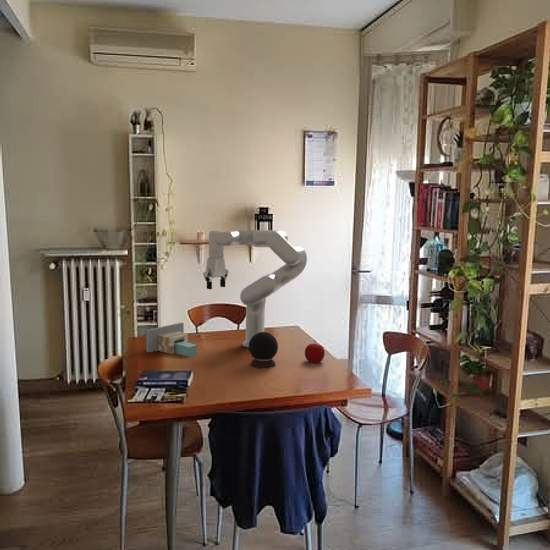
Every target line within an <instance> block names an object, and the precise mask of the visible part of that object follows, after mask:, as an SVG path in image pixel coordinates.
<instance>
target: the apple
mask: <svg viewBox="0 0 550 550" xmlns="http://www.w3.org/2000/svg"><path fill="white" fill-rule="evenodd" d="M313 341H314V343H310V344H307V345H306V347H305V348H304V349H305V350H304V357H305V358H306V359H305V360H307V362H308V363H311V362H312V363H311V364H319V363H321V362H322V361H323V360H324V358H325V354H326V353H325V348H324V346H322V345H321V344H318V343H316V340H313Z"/></svg>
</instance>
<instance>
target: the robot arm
mask: <svg viewBox="0 0 550 550" xmlns="http://www.w3.org/2000/svg"><path fill="white" fill-rule="evenodd" d="M208 232H209V233H208V257H207V260H206V266H205V267H206V268H205V271H204V272H203V273H202V276H203V278H204V279H205V281H206V290H212V289H213V282H212V280H213V279H214V278H220V280H219V287H221V288H226V280H227V277H228V275H229V270H228V269H227V268H226V261H225V257H224V255H225V252H224V249H225V248H224V246H226V247H231V246H239V245H240V246H253V247H254V248H269V249H270V250H271V251H272V252H273V253H274V254H275V255H276V256H277V257H278V258H279V259H280V260H282V261H283V263H284V265H282V266H280V267H279V268H278V269H276V270H274V271H273V272H271V273H268V274H266V275H263V276H261V277H259V278H258V279H257V280H255V281H253V282H252V283H250V284H249V285H247V286H246V287H244V288H242V290H241V292H240V294H239V295H240V296H239V298H240V301H241V303H242V304H243V305H245V306H246V308H245V340H244V341H242V346H243V347H244V348H248V349H249V342H250V340H251V338H252V337H253V336H254V335H255V334H257V333H259V332H265V320H266V319H265V317H266V316H265V315H266V314H265V313H266V302H267V298H268V297H269V296H271V295H272V294H275V293H276V292H277V291H279V290H280V289H282V288H283V287H284V286H286V285H287V284H289V283H290V282H292V281H293V280H295V279H296V278H297V277H298V276H300V275H301V274H302V273H303V271H304V269H305V268H306V266H307V262H308V256H307V252H306V250H305V249H304V248H303V247H301V246H293V245H292V244H291V243H290V242H289V241H288V240H289V238H288V234H287V233H286V232H285V231H283V230H281V229H280V230H276V229H275V230H274V229H273V230H272V229H271V230H269V229H268V230H266V229H265V230H264V229H263V230H262V229H256V230H255V229H254V230H242V229H241V230H238V229H237V230H227V231H221V230H210V231H208Z"/></svg>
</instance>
